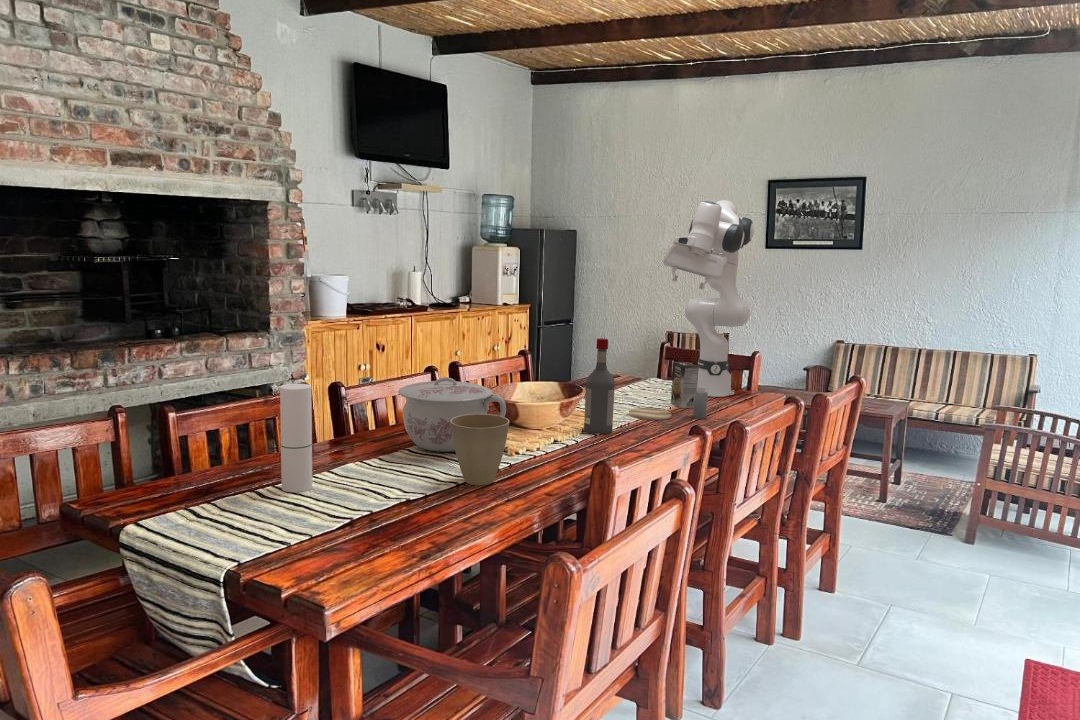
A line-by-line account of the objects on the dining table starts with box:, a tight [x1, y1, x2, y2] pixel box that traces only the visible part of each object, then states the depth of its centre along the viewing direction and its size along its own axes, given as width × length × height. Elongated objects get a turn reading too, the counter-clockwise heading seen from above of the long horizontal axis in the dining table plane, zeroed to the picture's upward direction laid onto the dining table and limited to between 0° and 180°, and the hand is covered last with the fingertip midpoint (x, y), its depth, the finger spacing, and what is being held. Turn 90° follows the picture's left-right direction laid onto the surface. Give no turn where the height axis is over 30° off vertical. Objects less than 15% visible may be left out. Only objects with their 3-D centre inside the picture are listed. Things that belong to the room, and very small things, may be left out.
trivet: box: [628, 407, 673, 421], centre depth 285 cm, size 15×15×1 cm
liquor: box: [583, 337, 616, 435], centre depth 259 cm, size 9×9×30 cm
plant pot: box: [450, 413, 510, 486], centre depth 203 cm, size 15×15×16 cm
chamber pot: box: [397, 376, 507, 453], centre depth 234 cm, size 28×28×21 cm
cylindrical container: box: [279, 383, 313, 493], centre depth 193 cm, size 7×7×25 cm
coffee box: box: [670, 361, 699, 409], centre depth 303 cm, size 9×6×16 cm
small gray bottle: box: [692, 387, 709, 420], centre depth 284 cm, size 5×5×11 cm
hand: (687, 284), depth 272 cm, fingers open, 8 cm apart
